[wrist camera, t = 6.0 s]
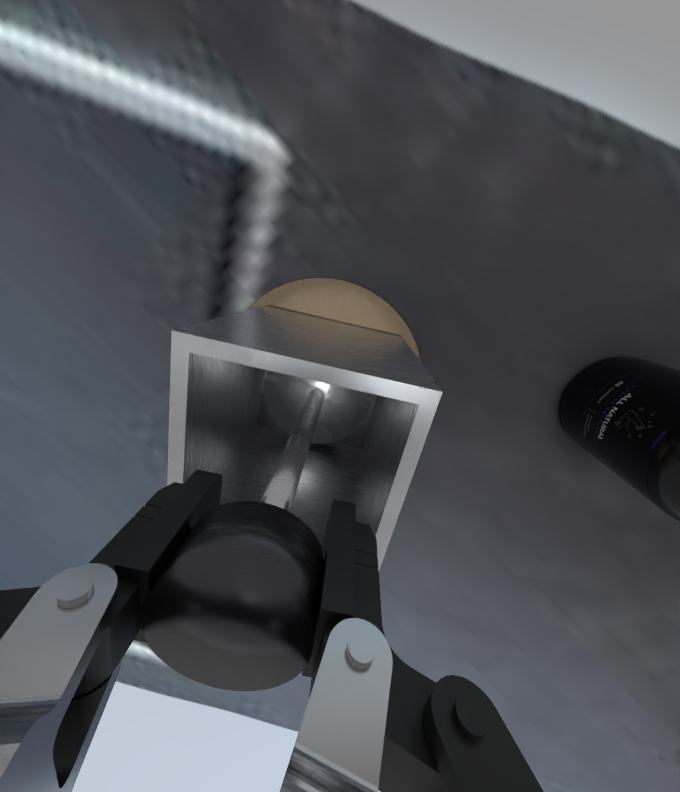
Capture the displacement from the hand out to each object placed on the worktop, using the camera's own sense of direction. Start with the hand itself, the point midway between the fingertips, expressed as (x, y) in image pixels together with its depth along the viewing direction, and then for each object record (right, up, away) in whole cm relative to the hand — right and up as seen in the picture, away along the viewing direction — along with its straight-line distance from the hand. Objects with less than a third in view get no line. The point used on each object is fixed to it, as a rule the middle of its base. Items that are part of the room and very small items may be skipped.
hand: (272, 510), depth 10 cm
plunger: (+1, +4, +11) cm, 11 cm away
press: (+1, +5, +13) cm, 14 cm away
